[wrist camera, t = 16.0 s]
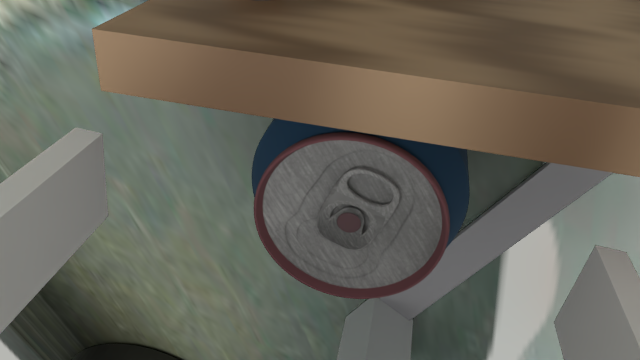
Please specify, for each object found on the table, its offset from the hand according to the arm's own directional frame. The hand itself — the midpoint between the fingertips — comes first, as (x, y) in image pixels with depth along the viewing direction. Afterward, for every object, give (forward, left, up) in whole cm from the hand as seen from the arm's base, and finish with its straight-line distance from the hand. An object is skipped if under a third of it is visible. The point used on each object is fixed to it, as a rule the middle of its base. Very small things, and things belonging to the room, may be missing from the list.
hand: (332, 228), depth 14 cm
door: (+6, -1, -12) cm, 14 cm away
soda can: (0, -1, -13) cm, 13 cm away
